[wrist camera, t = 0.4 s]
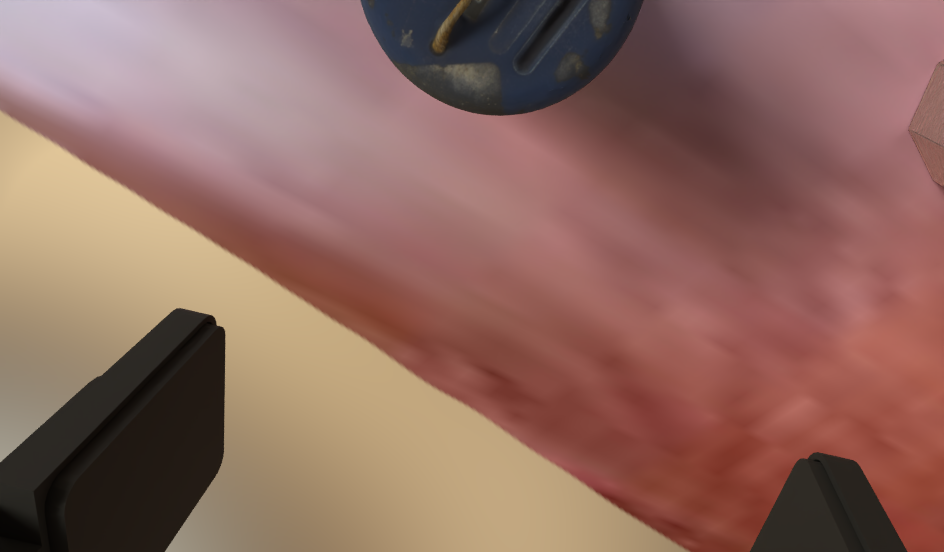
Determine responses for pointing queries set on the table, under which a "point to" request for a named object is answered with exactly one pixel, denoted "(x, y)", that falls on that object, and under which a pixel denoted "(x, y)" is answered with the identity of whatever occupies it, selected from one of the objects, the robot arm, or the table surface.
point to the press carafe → (931, 126)
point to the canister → (501, 47)
